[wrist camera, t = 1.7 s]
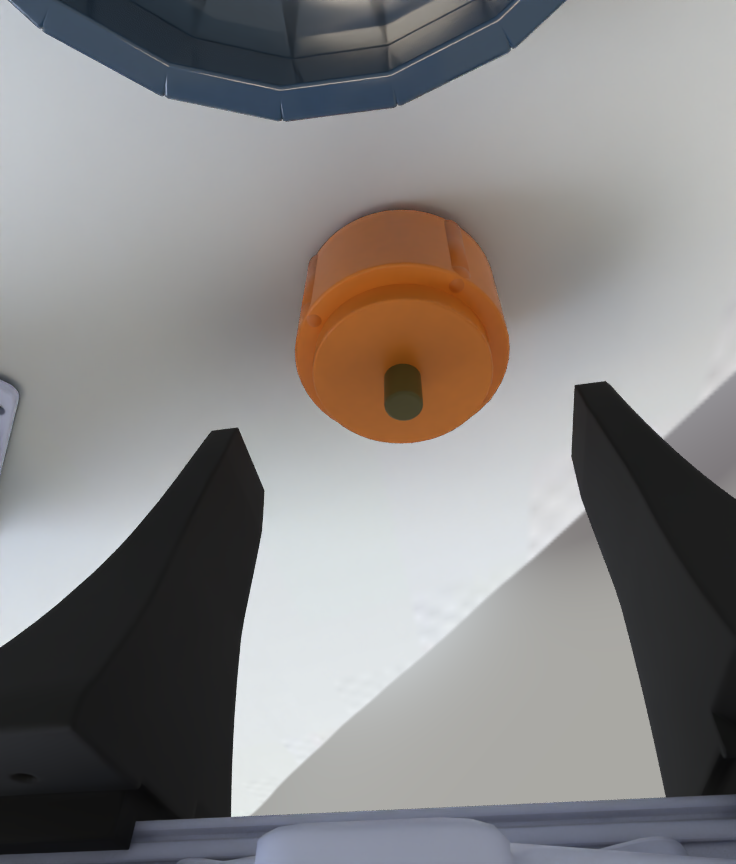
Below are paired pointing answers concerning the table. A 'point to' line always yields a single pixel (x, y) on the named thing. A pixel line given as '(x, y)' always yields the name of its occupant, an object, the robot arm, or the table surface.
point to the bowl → (291, 47)
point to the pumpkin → (401, 327)
